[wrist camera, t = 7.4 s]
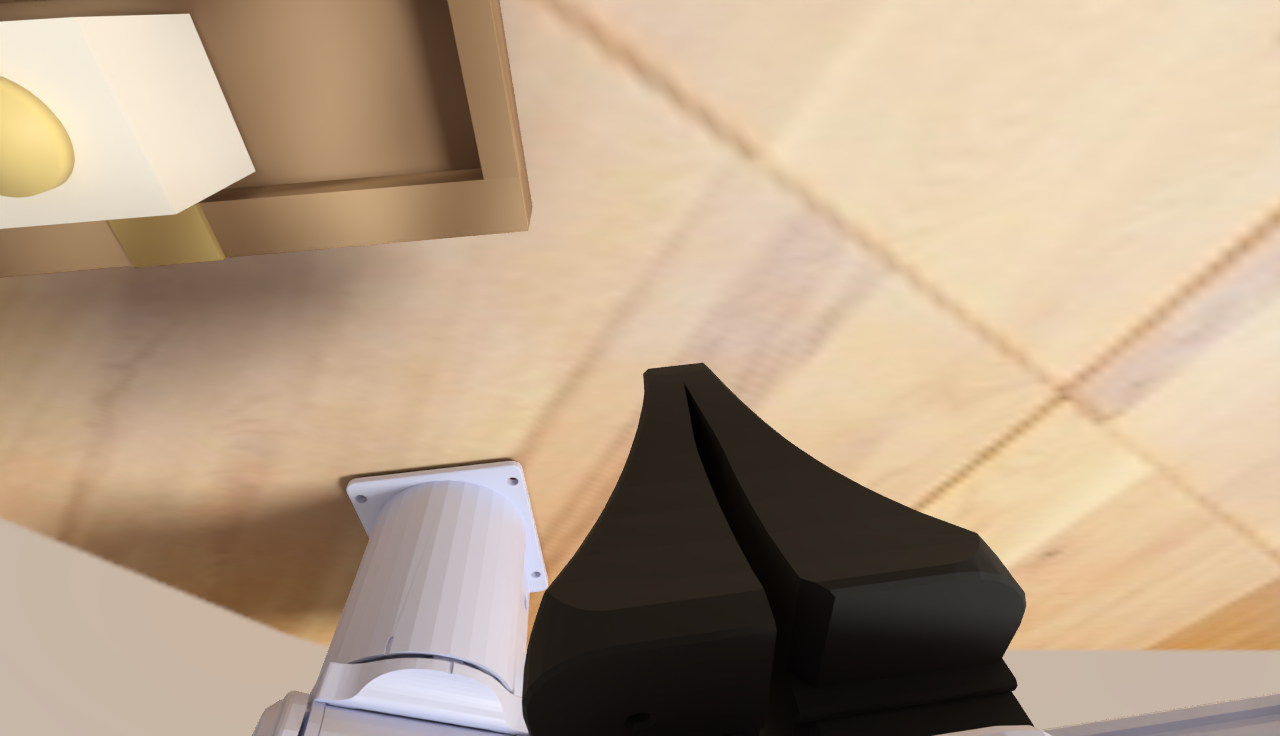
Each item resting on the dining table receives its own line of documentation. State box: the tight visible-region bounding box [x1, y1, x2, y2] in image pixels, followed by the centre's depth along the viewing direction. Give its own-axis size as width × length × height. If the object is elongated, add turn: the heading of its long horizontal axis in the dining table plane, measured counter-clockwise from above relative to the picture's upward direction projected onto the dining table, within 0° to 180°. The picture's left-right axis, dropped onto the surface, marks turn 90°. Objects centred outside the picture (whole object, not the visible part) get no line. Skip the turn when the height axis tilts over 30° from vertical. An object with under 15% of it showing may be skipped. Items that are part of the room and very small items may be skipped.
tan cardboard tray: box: [0, 0, 532, 277], centre depth 16 cm, size 15×8×4 cm, turn 93°
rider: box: [0, 14, 255, 229], centre depth 13 cm, size 5×4×4 cm
